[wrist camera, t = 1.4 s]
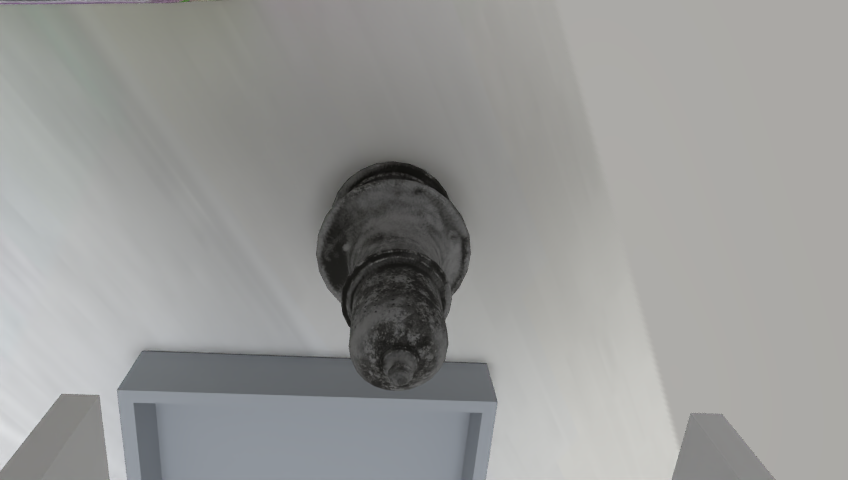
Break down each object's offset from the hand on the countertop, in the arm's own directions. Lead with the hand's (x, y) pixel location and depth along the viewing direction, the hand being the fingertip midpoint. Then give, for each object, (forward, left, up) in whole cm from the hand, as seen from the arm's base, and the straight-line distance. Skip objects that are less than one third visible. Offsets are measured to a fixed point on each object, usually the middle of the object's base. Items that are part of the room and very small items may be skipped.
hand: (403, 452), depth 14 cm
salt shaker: (0, 0, -15) cm, 15 cm away
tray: (+14, -3, -14) cm, 20 cm away
